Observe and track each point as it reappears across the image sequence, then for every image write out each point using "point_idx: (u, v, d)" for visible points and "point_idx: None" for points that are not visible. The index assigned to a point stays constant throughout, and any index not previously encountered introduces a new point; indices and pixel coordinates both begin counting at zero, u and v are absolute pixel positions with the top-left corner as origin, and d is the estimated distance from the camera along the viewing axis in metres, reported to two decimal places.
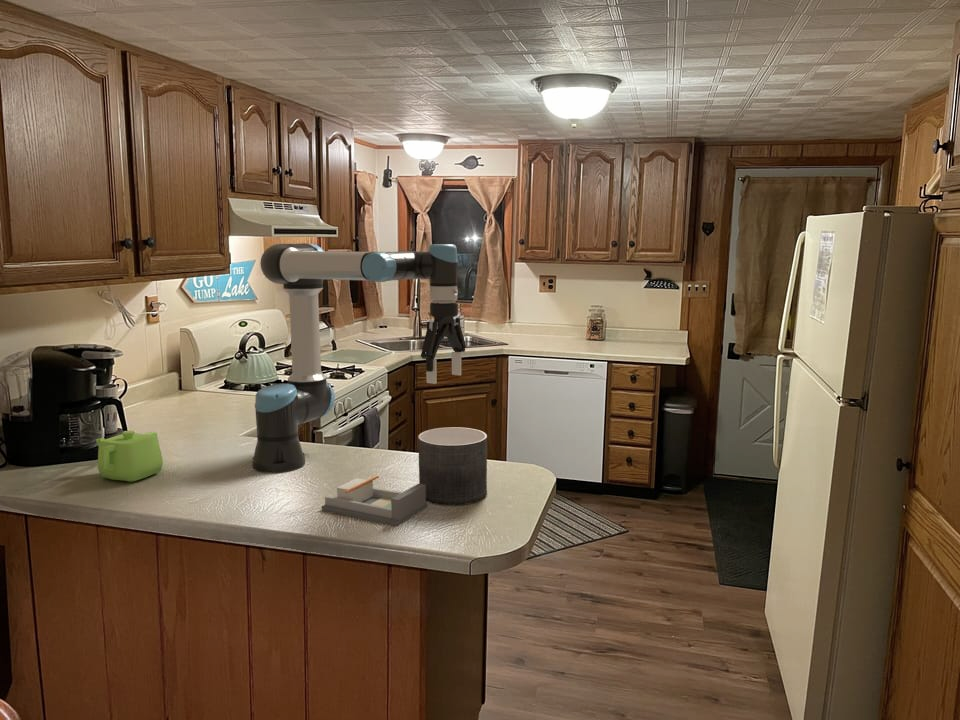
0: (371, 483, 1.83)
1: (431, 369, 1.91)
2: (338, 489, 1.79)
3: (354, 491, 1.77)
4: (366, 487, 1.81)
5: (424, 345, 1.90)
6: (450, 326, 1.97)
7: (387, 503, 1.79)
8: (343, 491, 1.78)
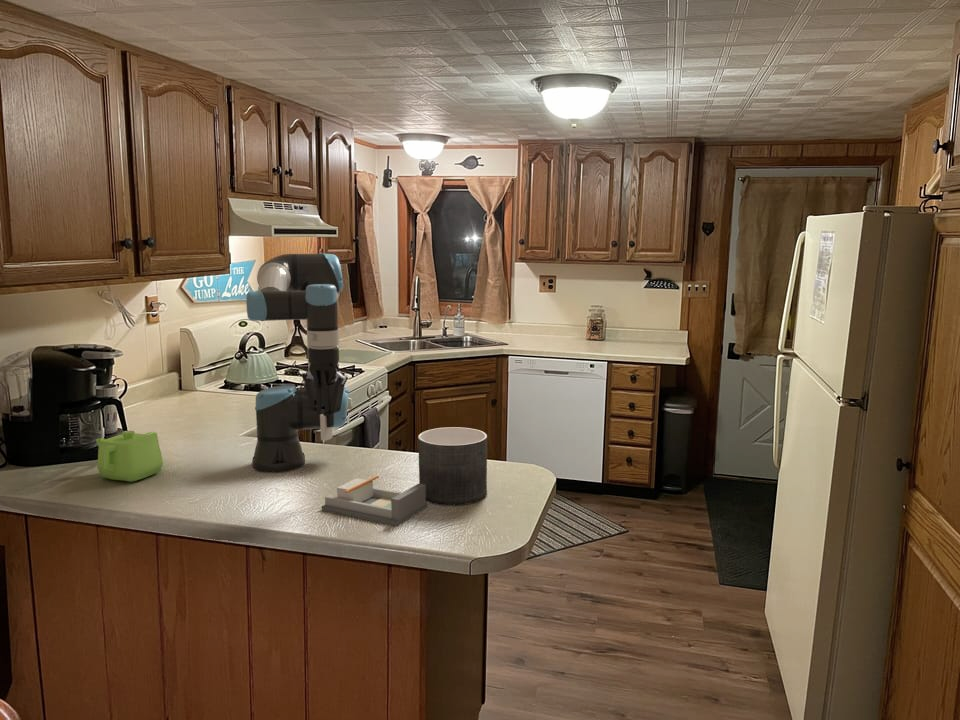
0: (371, 483, 1.83)
1: (319, 424, 1.83)
2: (338, 489, 1.79)
3: (354, 491, 1.77)
4: (366, 487, 1.81)
5: None
6: None
7: (387, 503, 1.79)
8: (343, 491, 1.78)
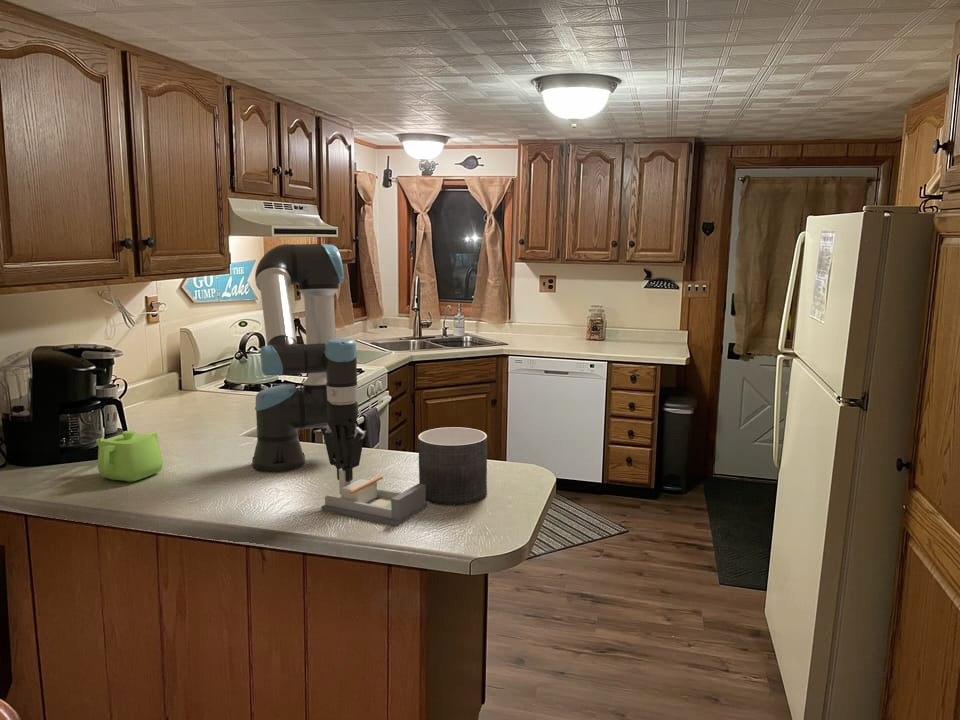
0: (375, 484, 1.83)
1: (338, 478, 1.82)
2: (342, 490, 1.78)
3: (358, 492, 1.77)
4: (370, 488, 1.81)
5: None
6: None
7: (387, 503, 1.79)
8: (347, 492, 1.78)
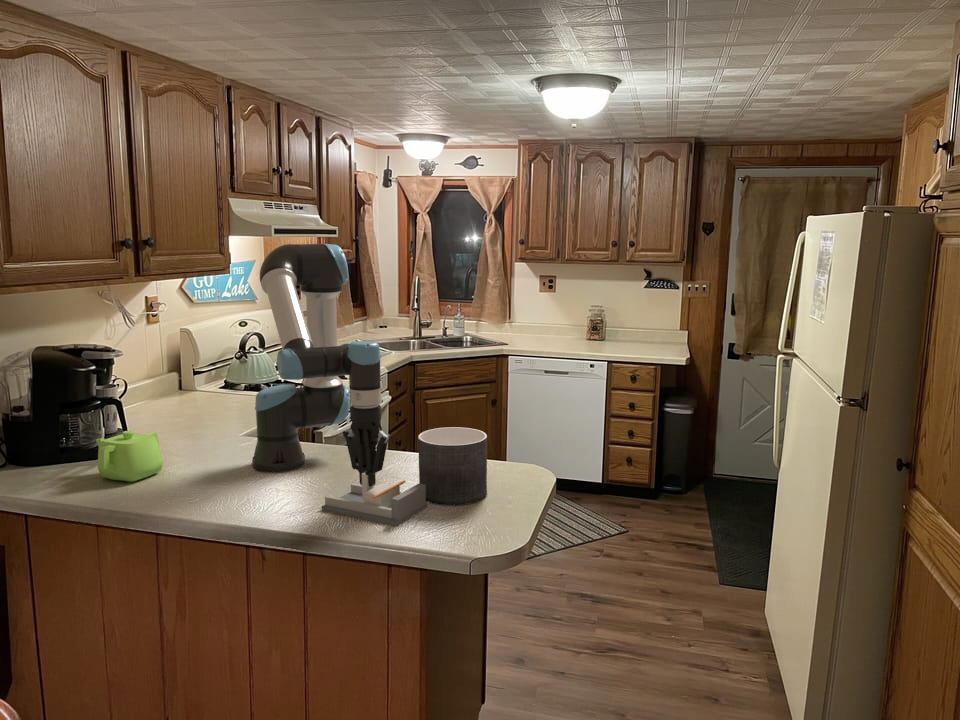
0: (398, 488, 1.80)
1: (361, 482, 1.79)
2: (365, 494, 1.75)
3: (382, 496, 1.73)
4: (393, 492, 1.78)
5: None
6: None
7: None
8: (370, 496, 1.74)
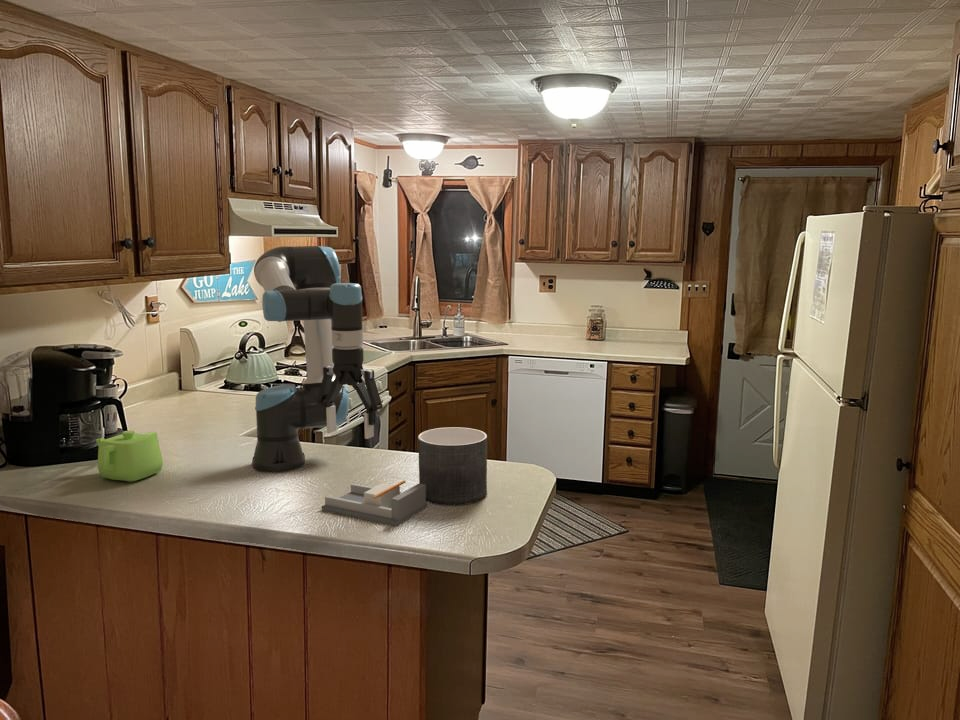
0: (398, 488, 1.80)
1: (325, 416, 1.82)
2: (365, 494, 1.75)
3: (382, 496, 1.73)
4: (393, 492, 1.78)
5: None
6: None
7: None
8: (370, 496, 1.74)
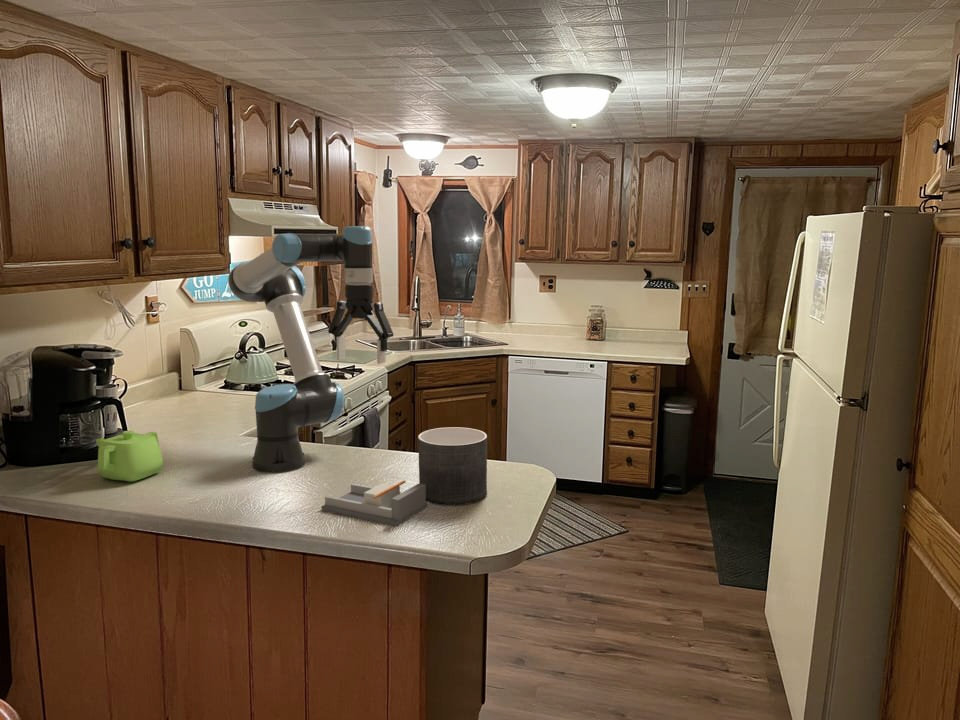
0: (398, 488, 1.80)
1: (336, 345, 2.02)
2: (365, 494, 1.75)
3: (382, 496, 1.73)
4: (393, 492, 1.78)
5: None
6: None
7: None
8: (370, 496, 1.74)
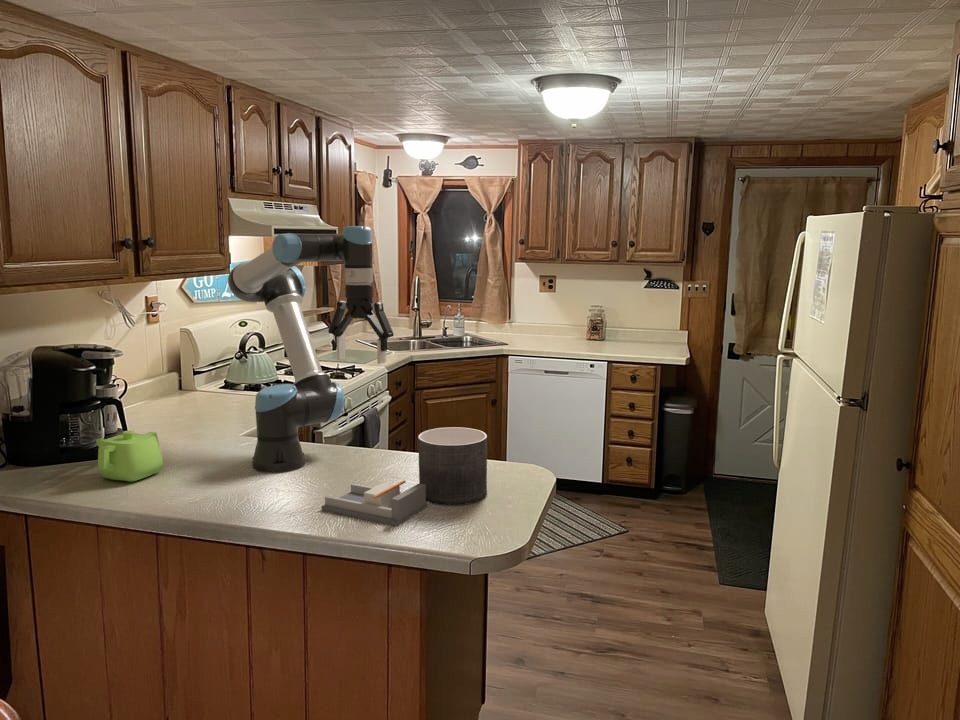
0: (398, 488, 1.80)
1: (336, 345, 2.02)
2: (365, 494, 1.75)
3: (382, 496, 1.73)
4: (393, 492, 1.78)
5: None
6: None
7: None
8: (370, 496, 1.74)
